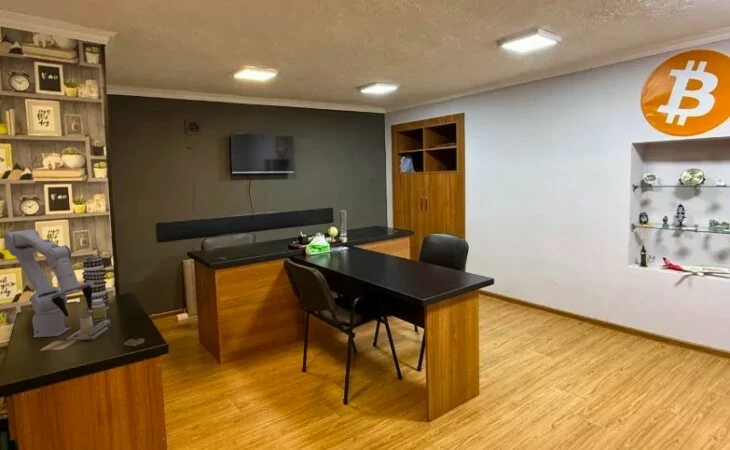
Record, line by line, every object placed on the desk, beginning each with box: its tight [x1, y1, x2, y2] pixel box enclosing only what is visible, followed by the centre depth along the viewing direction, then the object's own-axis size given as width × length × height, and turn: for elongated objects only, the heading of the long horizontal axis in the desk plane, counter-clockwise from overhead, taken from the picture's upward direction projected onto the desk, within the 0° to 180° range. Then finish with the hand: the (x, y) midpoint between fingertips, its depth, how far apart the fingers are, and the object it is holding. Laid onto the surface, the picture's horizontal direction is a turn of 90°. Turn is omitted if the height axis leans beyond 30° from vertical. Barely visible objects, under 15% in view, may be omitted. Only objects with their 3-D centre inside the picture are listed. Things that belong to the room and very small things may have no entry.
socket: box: [65, 327, 109, 341], centre depth 164 cm, size 10×10×1 cm
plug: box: [76, 315, 99, 337], centre depth 164 cm, size 7×7×7 cm
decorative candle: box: [81, 254, 110, 313], centre depth 194 cm, size 9×9×25 cm
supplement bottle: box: [92, 299, 108, 322], centre depth 181 cm, size 5×5×8 cm
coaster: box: [39, 339, 78, 352], centre depth 154 cm, size 8×8×1 cm
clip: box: [82, 318, 111, 338], centre depth 165 cm, size 3×16×2 cm, turn 4°
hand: (78, 311), depth 157 cm, fingers open, 7 cm apart
